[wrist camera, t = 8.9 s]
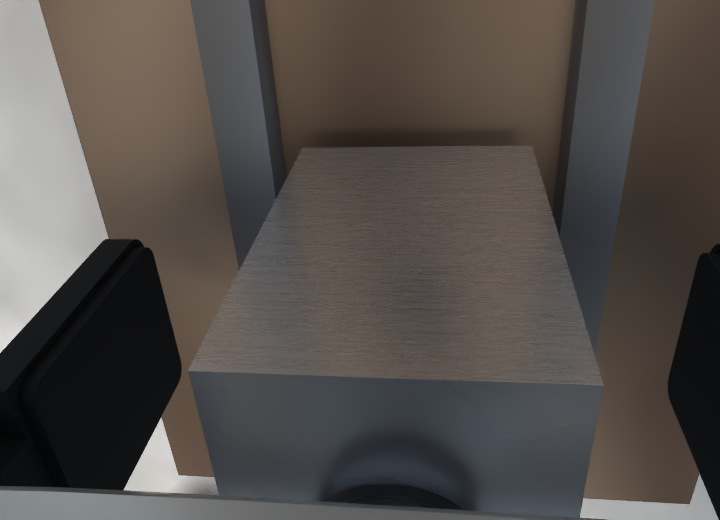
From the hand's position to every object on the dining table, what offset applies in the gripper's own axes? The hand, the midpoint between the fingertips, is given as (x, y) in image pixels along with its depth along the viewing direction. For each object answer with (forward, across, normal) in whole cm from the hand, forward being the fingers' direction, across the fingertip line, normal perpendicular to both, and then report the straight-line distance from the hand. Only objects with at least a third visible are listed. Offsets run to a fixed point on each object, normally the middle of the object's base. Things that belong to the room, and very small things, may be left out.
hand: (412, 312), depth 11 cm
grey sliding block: (+2, 0, 0) cm, 2 cm away
